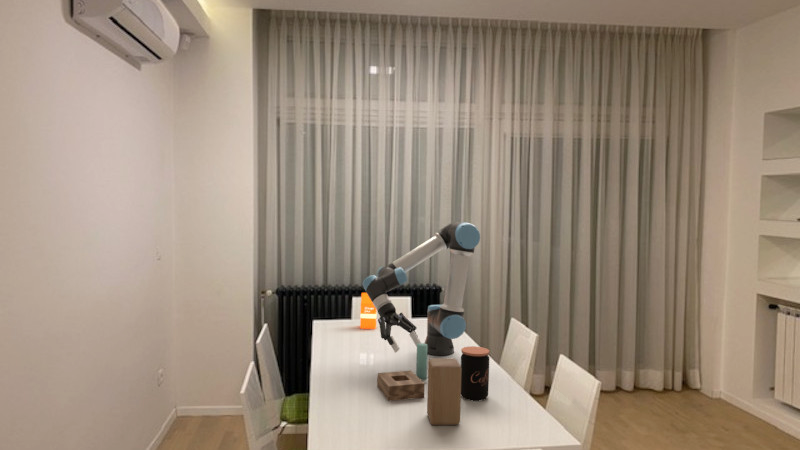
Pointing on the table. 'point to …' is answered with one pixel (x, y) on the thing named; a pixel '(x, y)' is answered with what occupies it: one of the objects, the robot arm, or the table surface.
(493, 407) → the table surface
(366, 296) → the orange juice
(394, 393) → the socket block
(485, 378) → the coffee jar
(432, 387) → the wooden block
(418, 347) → the pin
